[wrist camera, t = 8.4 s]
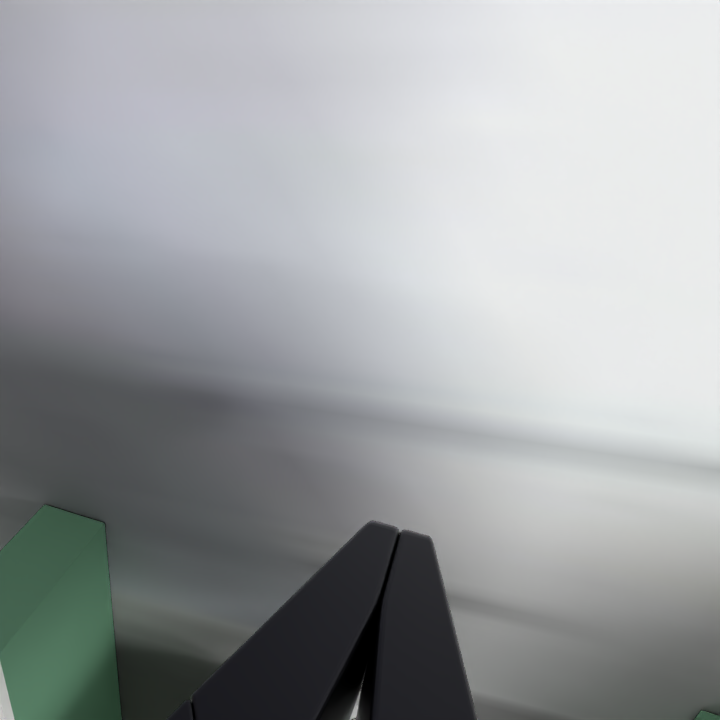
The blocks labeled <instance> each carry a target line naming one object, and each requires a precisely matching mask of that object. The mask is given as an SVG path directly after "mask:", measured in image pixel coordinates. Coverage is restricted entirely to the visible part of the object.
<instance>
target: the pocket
mask: <svg viewBox="0 0 720 720" xmlns="http://www.w3.org/2000/svg"><path fill="white" fill-rule="evenodd" d="M0 720H122V717H121V706H120V694H119V683H118V671H117V660H116V648H115V637H114V625H113V614H112V602H111V591H110V579H109V568H108V556H107V545H106V533H105V523H102V522H99V521H96V520H93V519H89V518H86V517H83V516H80V515H77V514H73V513H70V512H67V511H64V510H61V509H58V508H54V507H51V506H48V505H44V506H43V507H42V508H41V509H40V510H39V511H38V512H37V513H36V514H35V515H34V516H33V517H32V518H31V519H30V520H29V521H28V522H27V524H26V525H25V526H24V527H23V528H22V529H21V530H20V531H19V532H18V533H17V534H16V535H15V536H14V537H13V538H12V539H11V540H10V541H9V543H8V544H7V545H6V546H5V547H4V548H3V549H2V550H1V551H0ZM694 720H720V716H718V715H715V714H712V713H709V712H705V711H702V710H701V711H700V712H699V714H698V715H697V716H696V718H695V719H694Z"/></svg>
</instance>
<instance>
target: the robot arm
mask: <svg viewBox="0 0 720 720" xmlns="http://www.w3.org/2000/svg"><path fill="white" fill-rule="evenodd" d="M399 533H400V535H399ZM363 678H364V680H363ZM362 682H363V684H362ZM361 685H362V689H361V693H360V699H359V705H358V711H357V717H356V720H478V719H477V715H476V711H475V707H474V703H473V699H472V695H471V691H470V687H469V683H468V679H467V675H466V671H465V667H464V663H463V659H462V655H461V651H460V647H459V643H458V639H457V635H456V631H455V627H454V623H453V619H452V615H451V611H450V607H449V603H448V599H447V595H446V591H445V587H444V583H443V579H442V575H441V571H440V567H439V563H438V559H437V555H436V551H435V547H434V543H433V541H432V539H431V538H430V537H429V536H427V535H423V534H420V533H416V532H413V531H409V530H402V531H401V532H399V529H398V528H397V527H395V526H391V525H388V524H384V523H381V522H377V521H370V522H368V523H367V524H366V525H365V526H363V527H362V528H361V529H360V530H359V531H358V532H357V533H356V534H355V535H354V536H353V537H352V538H351V539H350V540H349V541H348V542H347V543H346V544H345V545H344V546H343V547H342V548H341V549H340V550H339V551H338V552H337V553H336V554H335V555H334V556H333V557H332V558H331V559H330V560H329V561H328V562H327V563H326V564H325V565H324V566H323V567H322V568H321V569H320V570H319V571H317V572H316V573H315V574H314V575H313V576H312V577H311V578H310V579H309V580H308V581H307V582H306V583H305V584H304V585H303V586H302V587H301V588H300V589H299V590H298V591H297V592H296V593H295V594H294V595H293V596H292V597H291V598H290V599H289V600H288V601H287V602H286V603H285V604H284V605H283V606H282V607H281V608H280V609H279V610H278V611H277V612H276V613H275V614H274V615H273V616H272V617H270V618H269V619H268V620H267V621H266V622H265V623H264V624H263V625H262V626H261V627H260V628H259V629H258V630H257V631H256V632H255V633H254V634H253V635H252V636H251V637H250V638H249V639H248V640H247V641H246V642H245V643H244V644H243V645H242V646H241V647H240V648H239V649H238V650H237V651H236V652H235V653H234V654H233V655H232V656H231V657H230V658H229V659H228V660H227V661H226V662H224V663H223V664H222V665H221V666H220V667H219V668H218V669H217V670H216V671H215V672H214V673H213V674H212V675H211V676H210V677H209V678H208V679H207V680H206V681H205V682H204V683H203V684H202V685H201V686H200V687H199V688H198V689H197V690H196V691H195V692H194V693H193V694H192V695H191V701H189V700H186V701H184V702H183V703H182V704H181V705H180V706H179V707H178V708H177V709H176V710H175V711H174V712H173V713H172V714H171V715H170V716H169V717H168V718H167V719H166V720H350V717H351V715H352V712H353V709H354V706H355V704H356V701H357V698H358V695H359V692H360V688H361Z"/></svg>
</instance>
